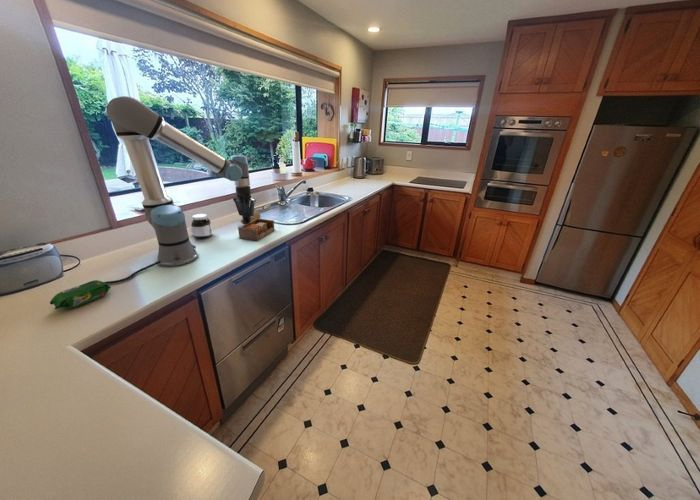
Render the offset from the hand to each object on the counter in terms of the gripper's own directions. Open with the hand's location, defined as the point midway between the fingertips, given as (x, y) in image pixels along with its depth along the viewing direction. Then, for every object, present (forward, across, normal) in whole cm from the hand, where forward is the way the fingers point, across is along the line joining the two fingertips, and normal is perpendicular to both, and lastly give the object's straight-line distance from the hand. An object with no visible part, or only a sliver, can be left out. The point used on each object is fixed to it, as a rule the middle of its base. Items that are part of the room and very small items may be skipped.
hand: (247, 227), depth 158 cm
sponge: (+3, +10, -18) cm, 21 cm away
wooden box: (+3, -6, 0) cm, 7 cm away
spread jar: (+3, +21, +13) cm, 25 cm away
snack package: (+3, +12, +76) cm, 77 cm away
